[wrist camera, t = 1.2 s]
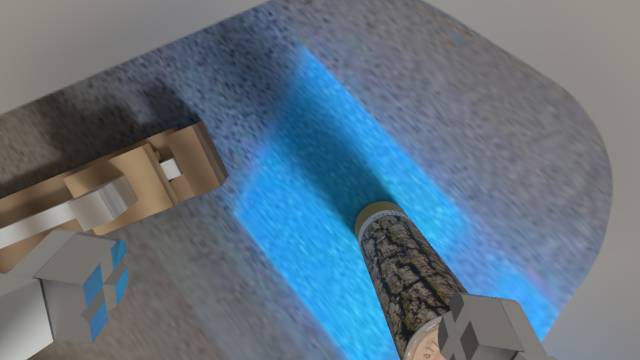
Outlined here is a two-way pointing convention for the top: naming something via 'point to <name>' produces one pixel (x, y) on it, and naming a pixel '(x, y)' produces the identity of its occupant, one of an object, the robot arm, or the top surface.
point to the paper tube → (406, 279)
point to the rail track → (53, 194)
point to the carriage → (120, 191)
